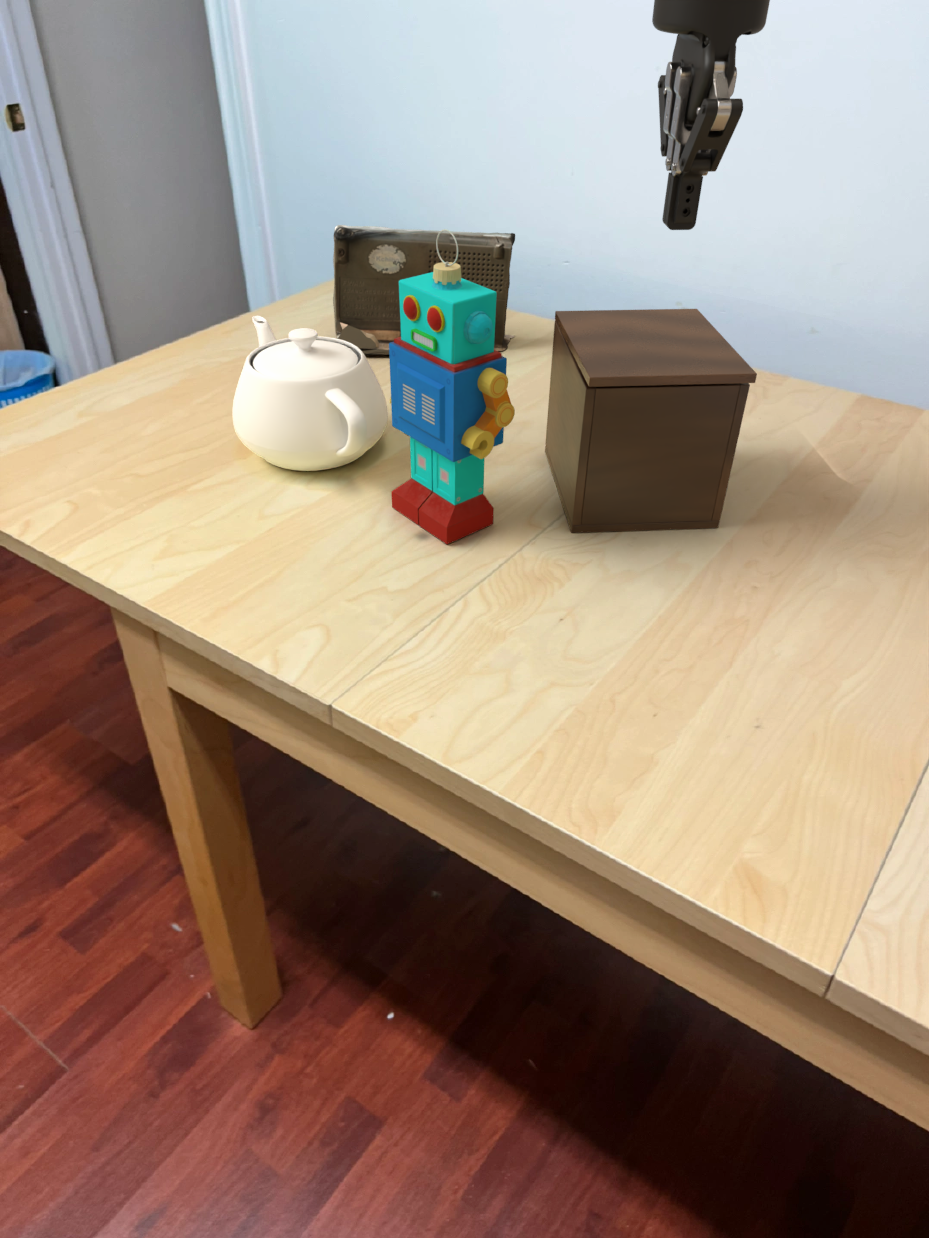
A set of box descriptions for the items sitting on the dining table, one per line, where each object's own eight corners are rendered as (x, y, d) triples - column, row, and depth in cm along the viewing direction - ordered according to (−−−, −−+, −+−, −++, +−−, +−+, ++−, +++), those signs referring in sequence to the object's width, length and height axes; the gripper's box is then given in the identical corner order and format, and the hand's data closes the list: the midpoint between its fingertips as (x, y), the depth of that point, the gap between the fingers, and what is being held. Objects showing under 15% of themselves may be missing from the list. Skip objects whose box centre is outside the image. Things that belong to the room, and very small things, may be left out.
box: (718, 528, 82) (750, 384, 73) (571, 533, 81) (586, 388, 72) (673, 448, 94) (695, 317, 85) (544, 451, 93) (554, 320, 84)
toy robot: (381, 500, 85) (367, 220, 69) (431, 481, 88) (428, 208, 72) (459, 553, 78) (462, 255, 62) (510, 530, 81) (526, 240, 65)
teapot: (435, 476, 88) (434, 356, 81) (288, 518, 82) (272, 392, 74) (328, 385, 105) (319, 279, 97) (199, 414, 99) (179, 303, 91)
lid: (755, 383, 72) (757, 373, 72) (588, 387, 71) (589, 377, 71) (695, 317, 85) (697, 308, 85) (554, 319, 84) (555, 310, 84)
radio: (515, 335, 118) (521, 216, 109) (518, 361, 112) (524, 235, 102) (340, 333, 118) (331, 213, 109) (331, 358, 112) (321, 232, 102)
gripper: (816, -52, 53) (754, 252, 64) (742, -58, 63) (700, 204, 74) (691, -53, 52) (651, 254, 63) (638, -59, 63) (611, 206, 73)
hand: (677, 227), depth 69 cm, fingers closed
